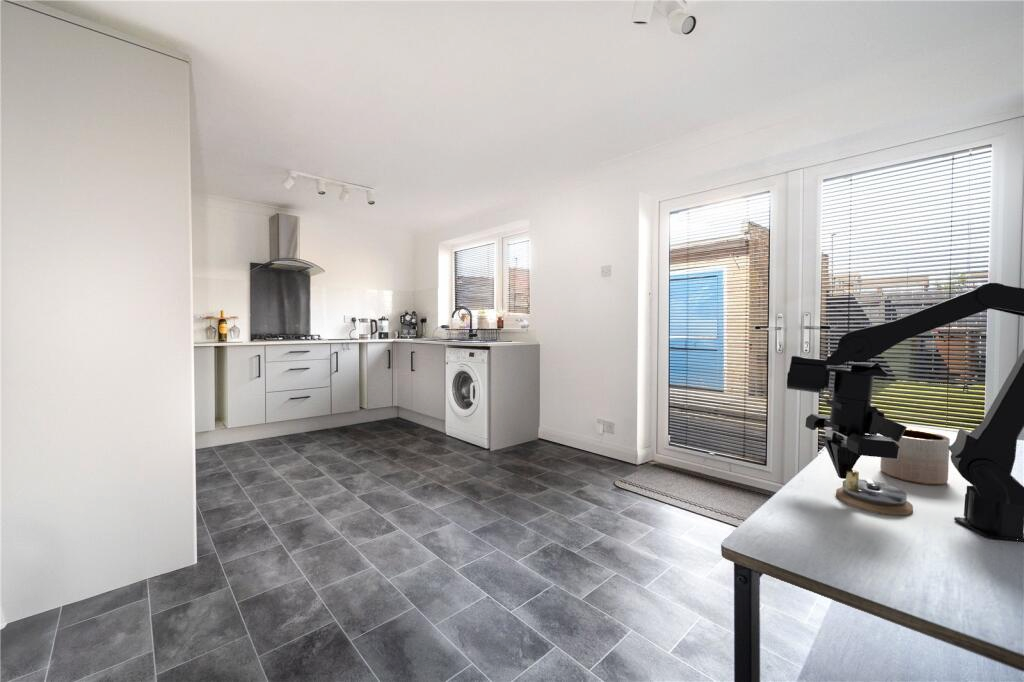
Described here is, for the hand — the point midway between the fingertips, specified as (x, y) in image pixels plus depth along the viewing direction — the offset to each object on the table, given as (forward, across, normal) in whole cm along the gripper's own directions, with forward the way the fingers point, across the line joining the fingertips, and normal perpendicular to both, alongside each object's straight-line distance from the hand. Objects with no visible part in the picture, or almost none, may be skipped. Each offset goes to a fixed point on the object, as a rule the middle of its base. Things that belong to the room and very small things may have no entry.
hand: (842, 478), depth 82 cm
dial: (+3, -1, -5) cm, 6 cm away
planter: (+4, +16, -23) cm, 29 cm away
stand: (+4, -1, -5) cm, 6 cm away
